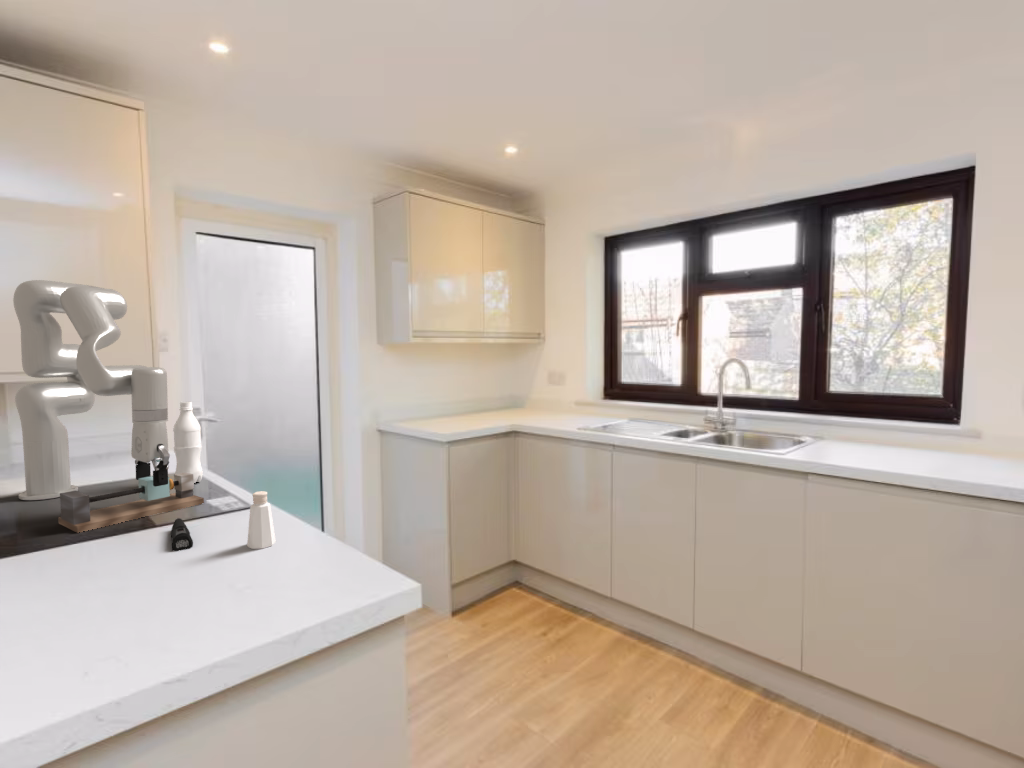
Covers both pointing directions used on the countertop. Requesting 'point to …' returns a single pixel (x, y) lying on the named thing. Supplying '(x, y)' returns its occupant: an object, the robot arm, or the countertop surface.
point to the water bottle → (188, 442)
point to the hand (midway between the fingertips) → (151, 482)
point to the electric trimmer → (180, 536)
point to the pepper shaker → (260, 523)
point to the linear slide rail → (124, 505)
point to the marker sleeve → (153, 489)
